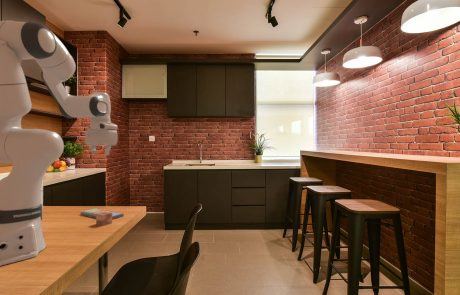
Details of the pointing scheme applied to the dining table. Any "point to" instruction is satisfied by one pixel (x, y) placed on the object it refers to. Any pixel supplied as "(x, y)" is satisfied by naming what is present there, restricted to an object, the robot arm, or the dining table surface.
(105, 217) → the terracotta cube
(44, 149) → the robot arm
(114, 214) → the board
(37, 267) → the dining table surface
